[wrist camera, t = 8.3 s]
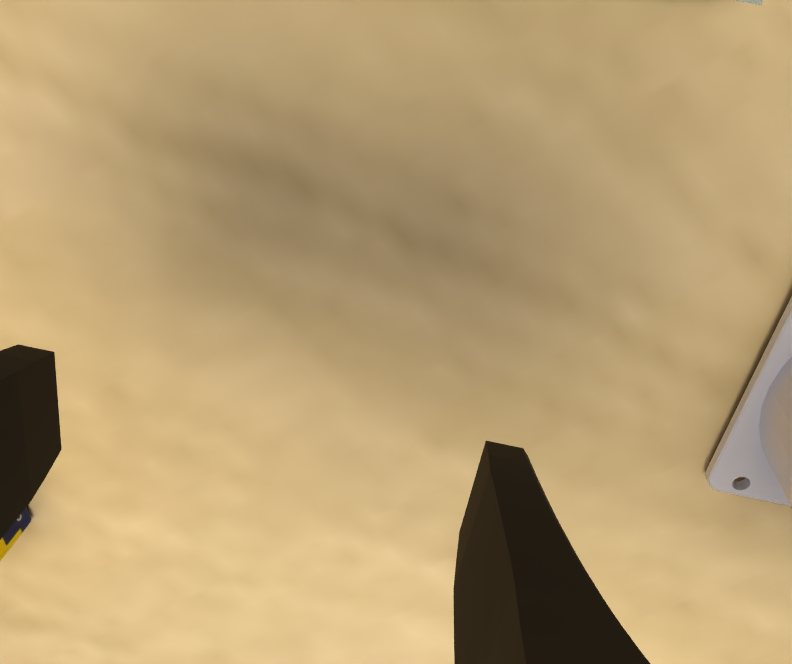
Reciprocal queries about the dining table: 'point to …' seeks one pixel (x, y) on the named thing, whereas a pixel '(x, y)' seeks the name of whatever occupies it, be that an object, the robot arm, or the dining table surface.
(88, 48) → the dining table surface
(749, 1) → the tray
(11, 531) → the supplement box
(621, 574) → the dining table surface
